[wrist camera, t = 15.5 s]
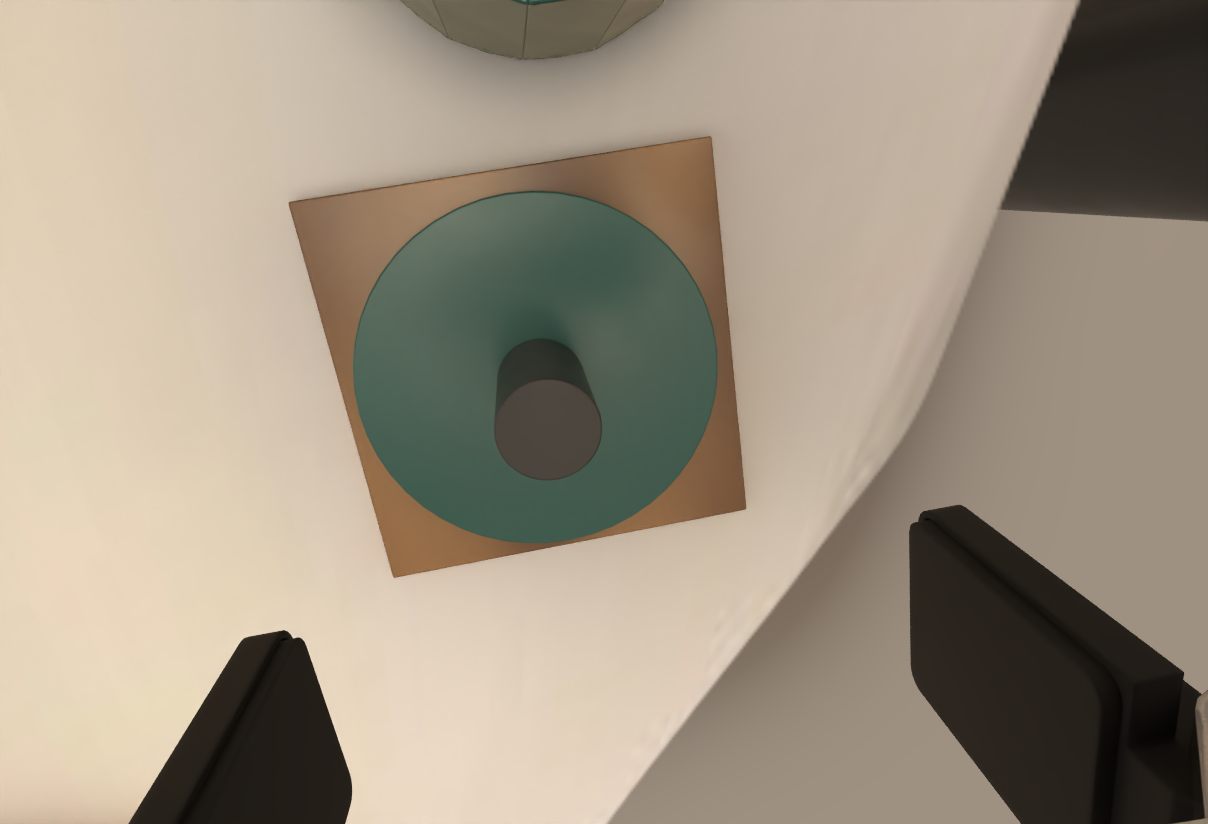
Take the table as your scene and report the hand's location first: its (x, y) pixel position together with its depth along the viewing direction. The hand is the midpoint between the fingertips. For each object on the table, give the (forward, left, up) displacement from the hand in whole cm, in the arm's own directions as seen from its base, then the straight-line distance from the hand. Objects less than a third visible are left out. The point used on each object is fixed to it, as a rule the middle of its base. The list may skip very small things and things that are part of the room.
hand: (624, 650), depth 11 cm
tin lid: (+1, 0, -17) cm, 17 cm away
